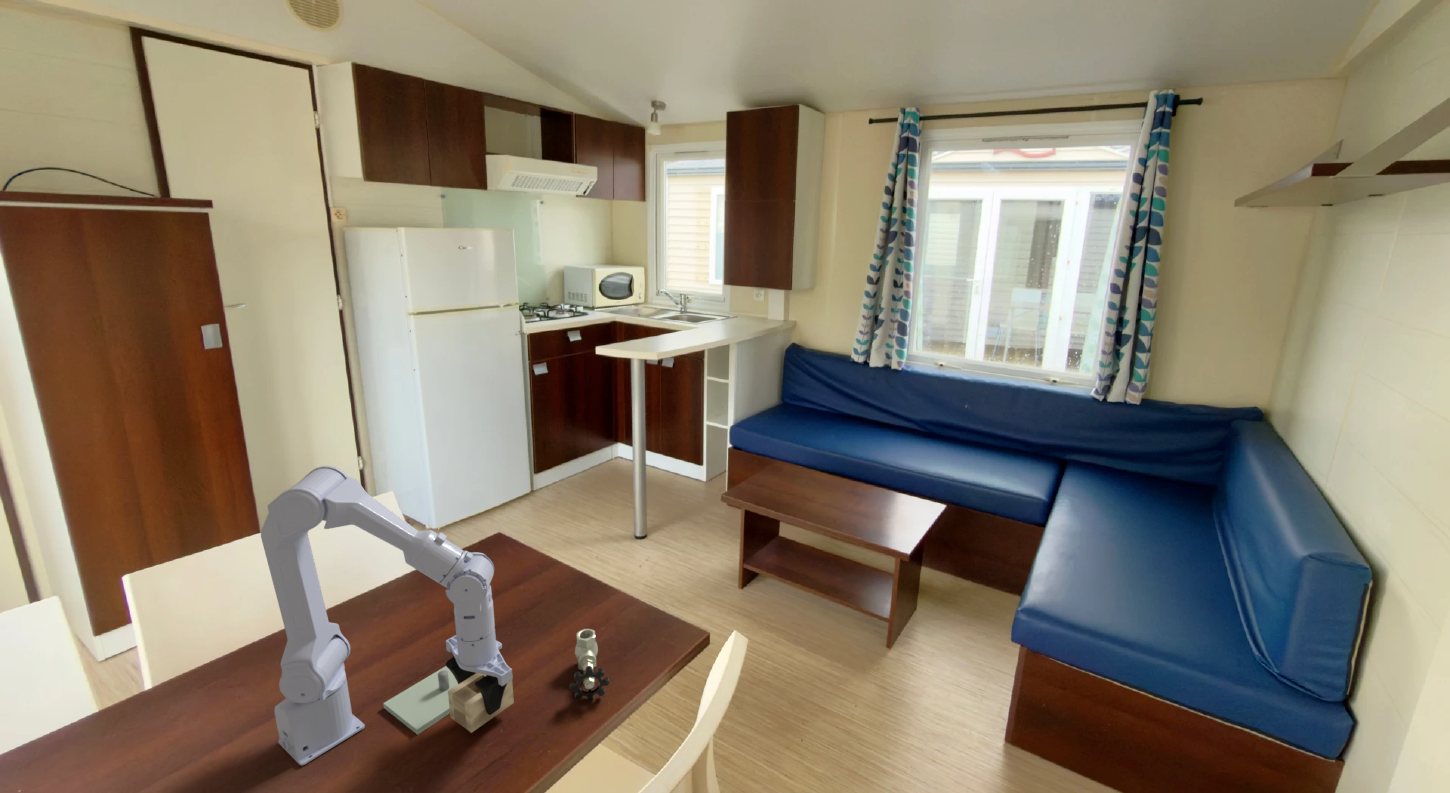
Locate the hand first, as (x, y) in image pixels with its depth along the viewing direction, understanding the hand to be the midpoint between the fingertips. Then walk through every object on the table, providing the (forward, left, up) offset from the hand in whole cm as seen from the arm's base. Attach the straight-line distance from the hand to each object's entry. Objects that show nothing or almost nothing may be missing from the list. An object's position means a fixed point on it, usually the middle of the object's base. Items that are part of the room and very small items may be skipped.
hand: (482, 702), depth 103 cm
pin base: (0, +11, -4) cm, 11 cm away
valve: (+17, -7, -4) cm, 19 cm away
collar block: (0, 0, -1) cm, 1 cm away
